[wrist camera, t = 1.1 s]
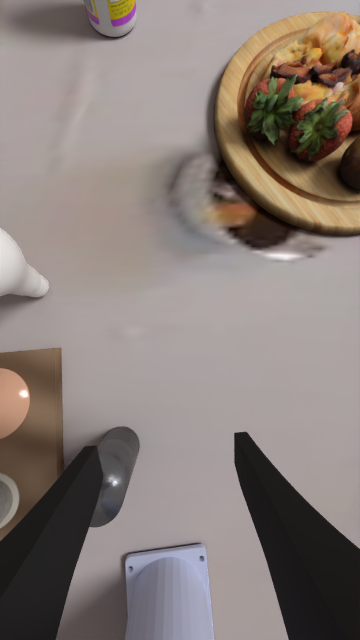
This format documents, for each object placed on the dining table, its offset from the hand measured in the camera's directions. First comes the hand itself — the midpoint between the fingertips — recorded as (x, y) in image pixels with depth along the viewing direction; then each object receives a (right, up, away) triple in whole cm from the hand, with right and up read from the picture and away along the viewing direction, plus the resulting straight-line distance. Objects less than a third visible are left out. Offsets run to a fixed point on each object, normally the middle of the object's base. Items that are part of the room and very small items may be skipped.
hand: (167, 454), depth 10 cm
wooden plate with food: (+21, +33, +18) cm, 43 cm away
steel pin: (-6, -7, +11) cm, 14 cm away
